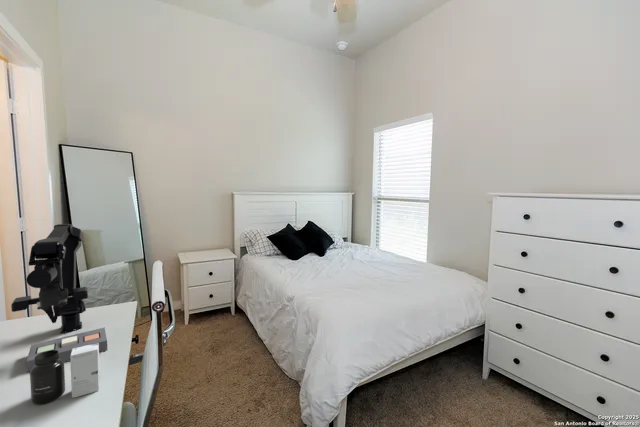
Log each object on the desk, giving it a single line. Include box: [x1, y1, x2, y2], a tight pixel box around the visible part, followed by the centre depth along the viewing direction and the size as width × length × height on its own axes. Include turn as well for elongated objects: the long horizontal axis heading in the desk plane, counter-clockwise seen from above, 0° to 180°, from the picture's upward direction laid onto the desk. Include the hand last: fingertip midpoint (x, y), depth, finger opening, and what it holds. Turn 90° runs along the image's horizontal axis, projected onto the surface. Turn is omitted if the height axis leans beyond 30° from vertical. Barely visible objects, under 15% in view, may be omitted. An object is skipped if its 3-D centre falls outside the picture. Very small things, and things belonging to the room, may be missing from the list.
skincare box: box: [70, 343, 101, 399], centre depth 82 cm, size 6×4×12 cm
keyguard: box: [25, 327, 109, 373], centre depth 101 cm, size 12×20×4 cm, turn 129°
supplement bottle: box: [29, 350, 66, 406], centre depth 80 cm, size 7×7×12 cm
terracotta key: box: [85, 333, 99, 342], centre depth 105 cm, size 4×4×2 cm
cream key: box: [62, 336, 78, 347], centre depth 101 cm, size 4×4×2 cm
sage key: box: [37, 344, 55, 354], centre depth 97 cm, size 4×4×2 cm
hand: (54, 322), depth 100 cm, fingers closed
